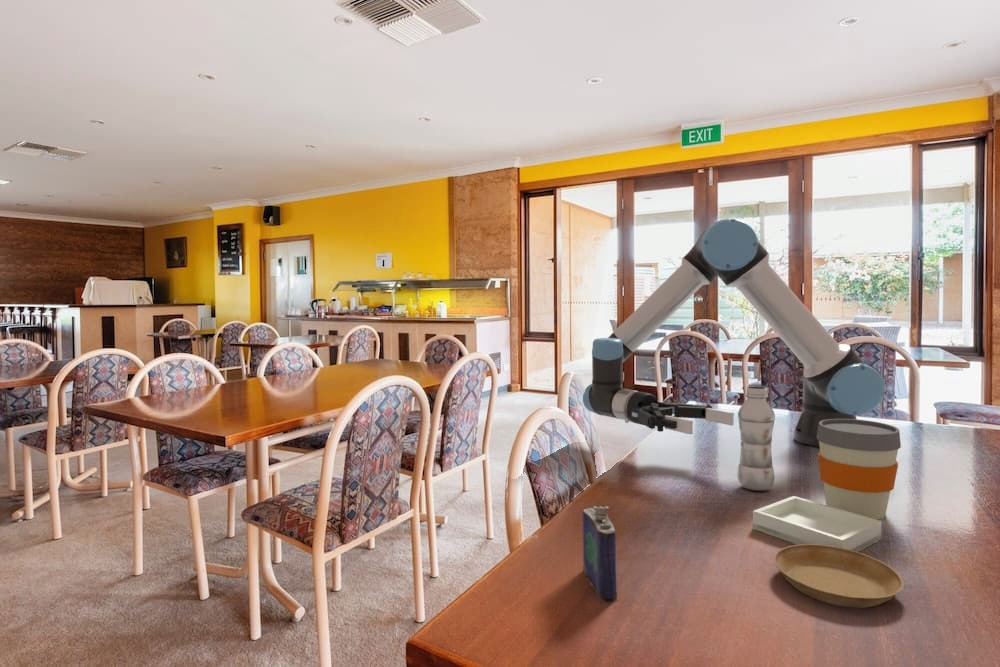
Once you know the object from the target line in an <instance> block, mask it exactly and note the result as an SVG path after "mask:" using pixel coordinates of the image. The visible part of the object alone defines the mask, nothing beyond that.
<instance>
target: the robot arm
mask: <svg viewBox="0 0 1000 667" xmlns="http://www.w3.org/2000/svg"><path fill="white" fill-rule="evenodd" d="M769 259H770V253H769V252H768V251H767V250H766V248H765V247H764V246H763V245H762V243H760V242H759V239H758V236H757V233H756V232H755V230H754V229H753V228H752V227H751V226H750V225H749V224H748V223H747V222H745V221H743V220H740V219H737V218H726V219H719V220H718V221H715V222H713V224H711V225H709V227H707V228H706V229H705V230H704V231H703V232H702V233H701V234H700V236H699V238H697V241H696V242H695V243H694V245H693V246H692V247H691V248H690V250H689V251H688V252H687V253H686V254H685V256H683V257H682V258H681V265H680V266H679V267H678V268H677V269H676V270H675V271H674V272H673V273H671V274H670V275H669V277H668V278H667V279H666V280H664V282H662V284H660V285H659V287H657V288H656V289H655V291H654V292H652V294H650V295H649V297H647V298H646V300H644V302H642V303H641V304H640V305H639V307H637V308H636V309H635V311H634V312H632V313H631V314H630V315H629V316H628V317H627V318H626V319H625V321H623V322H622V323H621V324H620V325H619V326H618V327H617V328H616V329H615V330H614V331H613V333H612V334H610V335H609V336H608V337H599V338H595V339H594V340H593V341H592V348H591V355H592V356H591V358H592V359H591V361H592V362H591V363H592V366H591V367H592V368H591V370H592V379H591V383H590V384H589V385H588V386H586V388H585V390H584V393H583V394H582V402H583V405H584V407H585V408H586V410H588V411H589V412H590V413H594V414H597V415H599V416H605V417H610V418H612V419H613V418H614V419H617V420H622V421H624V422H625V423H626V424H628V423H633V424H637V425H642V426H645V427H646V428H648V429H651V430H653V429H656V428H657V429H656V430H657V432H661V433H662V432H664V429H666V430H669V431H674V432H678V433H682V434H687V435H693V432H694V431H693V428H694V427H693V426H694V425H693V421H694V420H692V419H700V420H701V419H703V420H704V419H705V421H708V422H712V423H717V424H722V425H726V426H727V425H728V426H734V416H735V413H734V412H733V411H726V410H722V409H717V408H716V409H715V408H713V406H712V405H711V404H709V403H707V404H706V405H702V404H701V405H700V404H691V403H679V402H673V401H670V402H668V403H667V402H665V401H658V399H657V397H656V396H655V395H654V394H652V393H648V392H644V391H639V390H633V389H628V388H623V368H624V367H623V366H624V364H623V363H624V362H625V361H626V360H627V359H629V357H630V356H632V354H633V353H634V352H635V351H636V350H637V349H638V348H639V347H640V346H642V345H643V343H645V342H646V341H647V340H648V338H650V337H651V336H652V335H653V334H654V333H655V332H656V331H657V330H658V329H659V328H660V327H661V326H662V325H663V324H664V323H665V322H667V321H668V320H669V319H670V318H671V316H673V314H675V313H676V312H677V311H678V310H679V309H680V308H681V307H682V306H683V305H684V304H685V303H687V301H688V300H690V298H691V297H692V296H693V295H694V294H695V293H697V291H699V289H701V287H702V286H707V285H710V284H711V283H712V282H713V281H714V280H716V279H717V278H719V279H720V280H721V281H722V282H723V284H724V285H725V286H726V287H730V288H731V287H733V288H737V289H738V290H739V292H740V293H741V294H742V295H743V297H745V299H746V300H747V301H748V302H749V303H750V305H752V307H753V308H754V309H755V310H756V311H757V313H758V314H759V315H760V316H761V317H762V319H763V320H764V321H765V322H766V323H767V324H768V325H769V327H771V329H772V330H773V331H774V332H775V333H776V335H777V336H778V337H779V338H780V339H781V340H782V341H783V343H784V344H785V345H786V347H788V348H789V350H791V352H792V353H793V354H794V355H795V357H796V358H797V359H798V360H799V361H800V362H801V363H802V367H803V376H802V378H803V379H802V382H803V383H802V409H801V410H802V411H801V413H800V416H799V418H798V421H797V423H796V426H795V428H794V433H793V434H794V435H793V437H794V438H793V439H794V440H795V441H796V442H798V443H801V444H803V445H806V444H807V446H811V447H816V448H820V446H819V440H817V432H818V425H819V422H820V421H822V420H827V419H857V416H859V415H865V414H868V413H871V412H872V411H873V410H874V409H876V408H877V407H878V406H880V404H881V402H882V401H883V399H884V397H885V393H886V384H885V380H884V378H883V377H882V376H883V375H881V373H880V372H879V371H878V370H877V369H876V368H874V367H873V366H871V365H869V364H866V363H865V362H864V360H863V359H862V358H861V357H860V356H859V355H858V354H857V352H855V350H854V349H853V348H852V347H851V345H849V344H845V343H843V344H842V343H838V342H837V341H836V340H835V338H834V337H833V336H832V335H831V333H829V331H828V330H827V329H826V328H825V327H824V326H823V325H822V323H821V322H819V320H818V319H817V318H816V317H815V315H813V313H812V312H811V311H810V309H809V308H807V307H806V305H805V304H804V303H803V301H802V300H800V299H799V297H798V295H796V294H795V293H794V292H793V291H792V289H791V288H790V287H789V286H788V285H787V283H785V281H784V280H783V278H781V277H780V275H779V274H778V273H777V272H776V271H775V270H774V269H773V268H772V266H771V265H770V263H769ZM857 420H858V419H857Z"/></svg>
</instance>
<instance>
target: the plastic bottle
mask: <svg viewBox="0 0 1000 667" xmlns="http://www.w3.org/2000/svg"><path fill="white" fill-rule="evenodd" d="M768 392H769V390H768V387H766V386H759V385H751V386H746V393H745V397H746V398H747V399H746V400H745V401H744V402H743V403H742V404H741V406H740V408H739V409H738V411H737V417H738V418H737V419H738V424H739V431H740V453H739V454H740V455H739V463H738V468H737V472H736V474H737V476H736V477H737V481H738V483H739V485H740V486H741V487H742V488H745V489H747V490H753V491H759V492H761V491H768V490H771V488H772V487H773V486H774V483H775V478H776V477H775V471H774V467H773V456H772V442H773V431H774V426H775V425H774V424H775V419H776V415H775V412H774V409H773V408H772V406H771V405H770V403H769V402H768V401H767V398H769V394H768Z"/></svg>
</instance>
